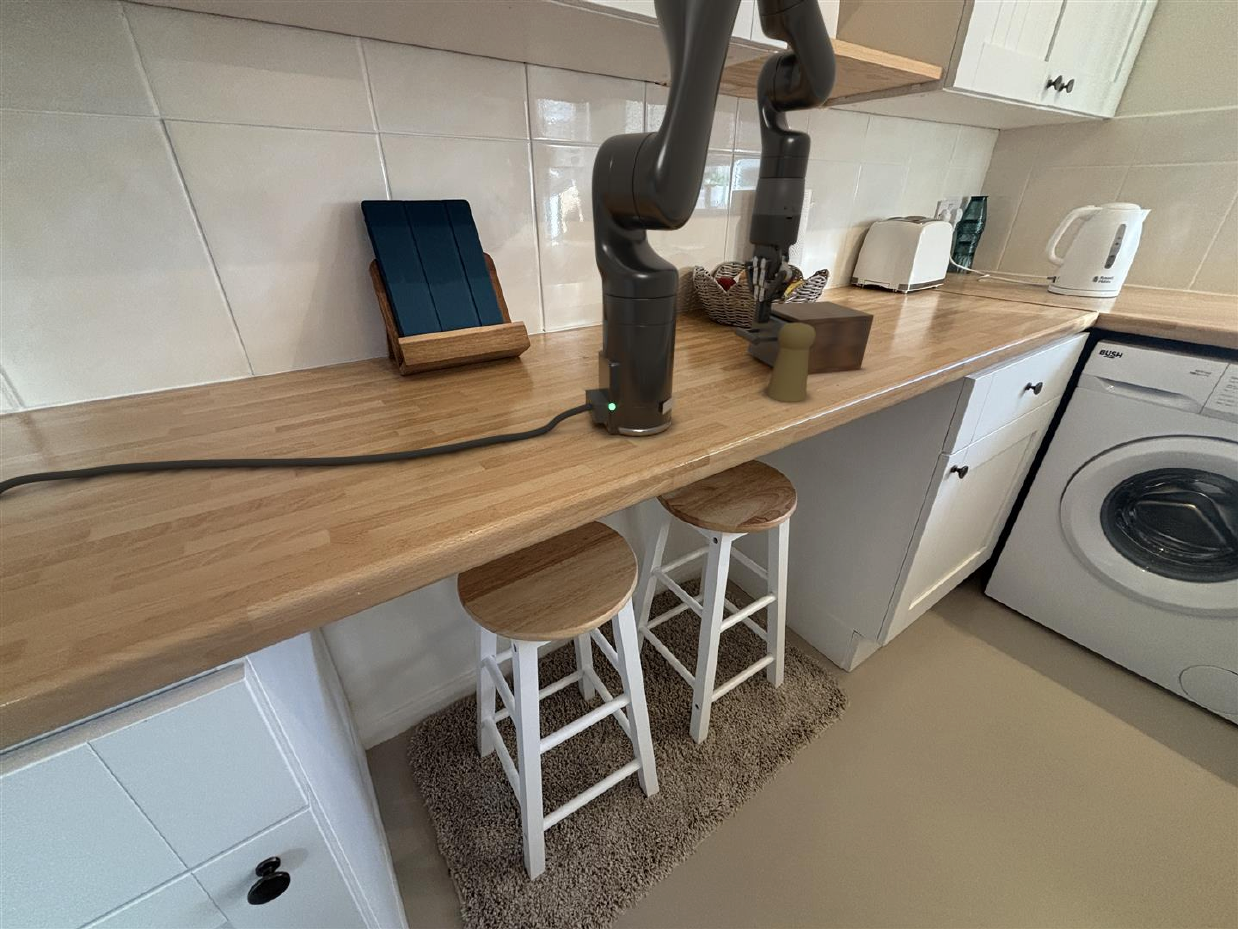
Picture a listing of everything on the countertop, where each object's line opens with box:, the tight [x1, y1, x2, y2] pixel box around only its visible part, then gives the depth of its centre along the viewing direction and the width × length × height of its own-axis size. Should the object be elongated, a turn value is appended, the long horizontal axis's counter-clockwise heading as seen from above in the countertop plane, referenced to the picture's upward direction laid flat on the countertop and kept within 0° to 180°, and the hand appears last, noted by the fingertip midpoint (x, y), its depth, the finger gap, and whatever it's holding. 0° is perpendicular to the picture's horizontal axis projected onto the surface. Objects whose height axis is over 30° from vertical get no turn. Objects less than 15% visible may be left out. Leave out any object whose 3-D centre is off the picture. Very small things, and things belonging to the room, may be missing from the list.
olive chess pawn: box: [765, 323, 815, 403], centre depth 75 cm, size 6×6×11 cm
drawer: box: [733, 310, 794, 368], centre depth 89 cm, size 18×11×8 cm, turn 106°
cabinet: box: [771, 300, 875, 375], centre depth 90 cm, size 15×13×10 cm
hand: (761, 322), depth 86 cm, fingers closed
